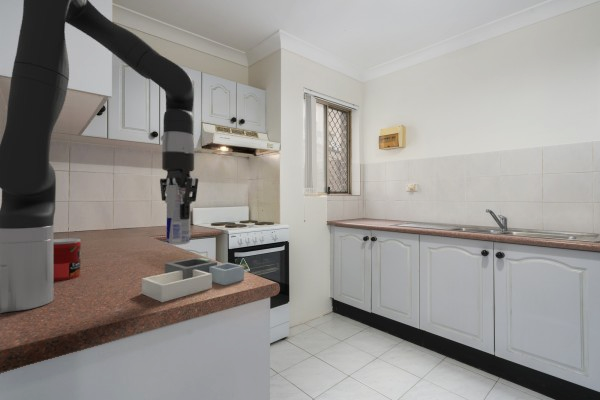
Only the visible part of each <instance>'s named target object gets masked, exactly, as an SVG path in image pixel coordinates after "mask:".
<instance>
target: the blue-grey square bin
mask: <svg viewBox="0 0 600 400" xmlns="http://www.w3.org/2000/svg"><path fill="white" fill-rule="evenodd" d="M209 273H211V274H212V283H216V284H219V285H223V286H228V285H231V284H234V283H238V282H241V281H245V266H244V265H241V264H235V263H231V262H225V263H222V264H221V263H220V264H217V265H216V266H211V267H209Z"/></svg>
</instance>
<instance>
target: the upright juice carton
mask: <svg viewBox="0 0 600 400" xmlns="http://www.w3.org/2000/svg"><path fill="white" fill-rule="evenodd" d="M179 186H180V185H179ZM176 187H177V185H167V194H166V195H167V203H166V243H167V244H169V245H171V246H182V245H186V244H189V243H190V242H191V217H190V218H189V219H180V204H181V203H180V199H179V196H178V195H177V188H176ZM185 189H186V188H180V190H181V191H185ZM183 196H184V198H185V195H183Z"/></svg>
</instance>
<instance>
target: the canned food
mask: <svg viewBox="0 0 600 400" xmlns="http://www.w3.org/2000/svg"><path fill="white" fill-rule="evenodd" d="M81 245H82V241H81V238H77V237H75V238H74V237H68V238H67V237H66V238H64V237H63V238H55V239H54V238H53V282H54V281H67V280H72V279H76V278H79V277H80V275H81V269H82V268H81V267H82V266H81V263H82V262H81V254H82V253H81V249H82V247H81Z"/></svg>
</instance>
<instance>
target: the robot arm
mask: <svg viewBox="0 0 600 400" xmlns="http://www.w3.org/2000/svg"><path fill="white" fill-rule="evenodd" d="M22 6H23V10H22V19H21V24H20V29H19V35H18V42H17V48H16V53H15V57H14V62H13V67H12V72H11V77H10V78H11V79H10V84H9V92H8V93H9V95H8V100H7V111H6V112H7V114H6V123H5V128H4V132H3V135H2V138H1V141H0V189H1V204H0V314H3V313H8V312H18V311H19V312H20V311H26V310H30V309H35V308H39V307H42V306H45V305H48V304H50V303H51V302H53V301H54V292H55V290H54V281H53V239H54V221H55V220H54V219H55V212H56V197H57V196H56V193H57V192H56V189H57V188H56V187H57V185H56V182H57V178H56V172H55V170H54V167H53V166H52V164H51V163H50V152H51V151H50V149H51V147H50V146H51V139H52V134H53V130H54V128H55V125H56V123H57V121H58V119H59V117H60V114H61V112H62V110H63V108H64V104H65V101H66V98H67V93H68V87H69V81H70V79H69V78H70V63H69V62H70V61H69V55H68V48H67V44H66V43H67V42H66V33H65V31H66V24H69V25H70V26H71V27H74V28H75V29H77V30H79V31H80V32H82V33H84V34H85V35H86V36H88V37H90V39H91V38H92V39H93V40H95V41H96V42H97V43H99V44H100V45H101V46H103V47H105V49H107V50H108V51H110V52H111V53H112V54H113V55H114V56H115V57H117V58H118V59H119V60H120V61H122V62H123V63H124V64H126V65H127V66H128V67H130V68H131V69H132V70H134V71H135V72H136V73H137V74H138V75H140V76H141V77H143V78H145V79H146V80H151V81H152V82H154V83H155V84H156V85H158V86H159V87H160V88H161V89H162V90H164V92H165V93H164V94H165V112H164V114H163V135H162V143H161V144H162V145H161V147H162V151H161V159H162V160H161V163H162V164H161V168H162V171H163V170H164V171H166V172H167V173H166V174H167V175H166V178H160V179H159V184H160V194H161V200H162V201H163V202H164V203H165V204H167V185H177V187H176V188H177V195H178V196H179V199H180V203H181V204H180V219H189V218H190V219H191V204H192V203H193V202H194V203H195V202H196V200H197V195H198V186H199V178H198V177H192V176H191V172H193V171H194V170H195V141H194V119H193V114H194V100H195V92H194V89H195V88H194V83H193V80H192V77H191V76H190V75H189V74H188V72H187V71H186V70H185V69H184V68H182V67H181V66H179V65H178V64H177V63H175V62H173V61H172V60H170V59H168V58H166V57H164V56H163V55H162V54H160V53H159V52H158V51H157V50H156V49H154V48H153V47H152V46H150V44H148V43H147V42H146V41H144V40H143V39H142V38H140V37H139V36H138V35H136V34H135V33H134V32H131V30H128V29H126V28H124V27H122V26H120V25H118V24H117V23H115V22H113V21H111V20H110V19H108V18H107V17H106V16H105V15H104V14H102V13H101V12H100V11H99V9H97V8H96V7H95V6H94V5H93V4H92V2H90V0H23V5H22ZM179 185H180V186H179ZM180 188H186V189H185V191H181V190H180ZM183 195H185V198H184V196H183Z"/></svg>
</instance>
